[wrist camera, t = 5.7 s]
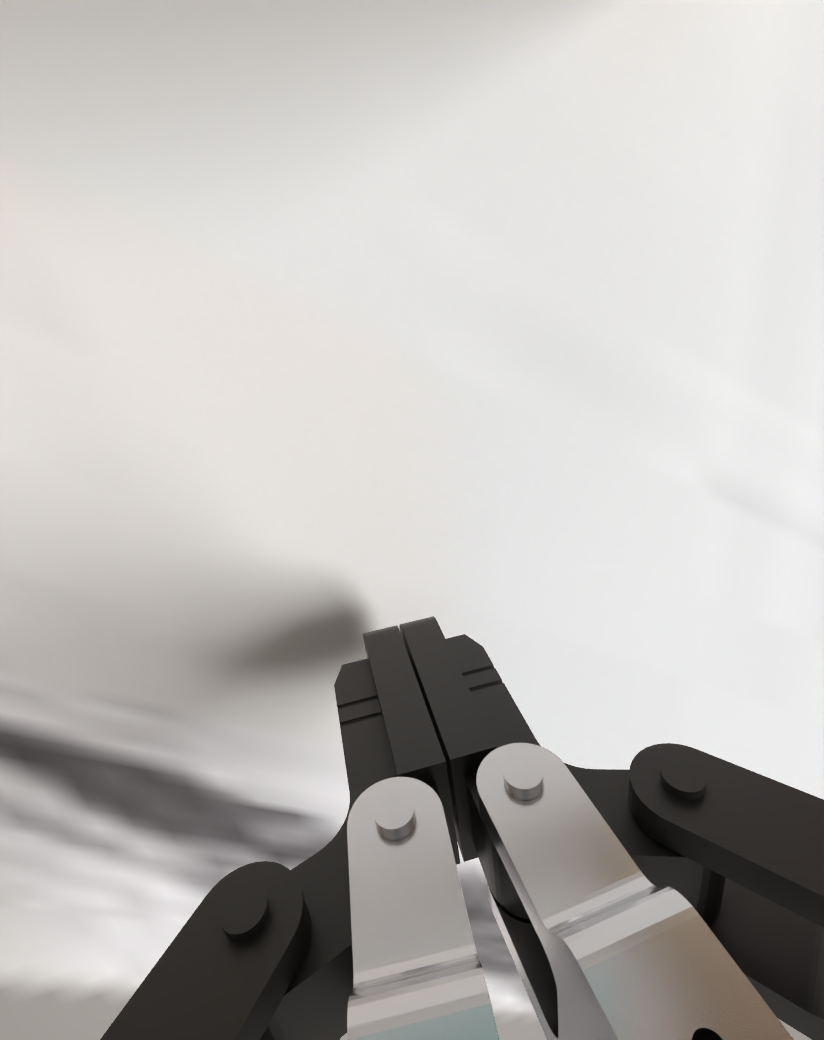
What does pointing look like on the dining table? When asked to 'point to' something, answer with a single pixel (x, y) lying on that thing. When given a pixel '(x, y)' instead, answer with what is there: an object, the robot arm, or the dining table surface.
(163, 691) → the dining table surface
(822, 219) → the dining table surface
